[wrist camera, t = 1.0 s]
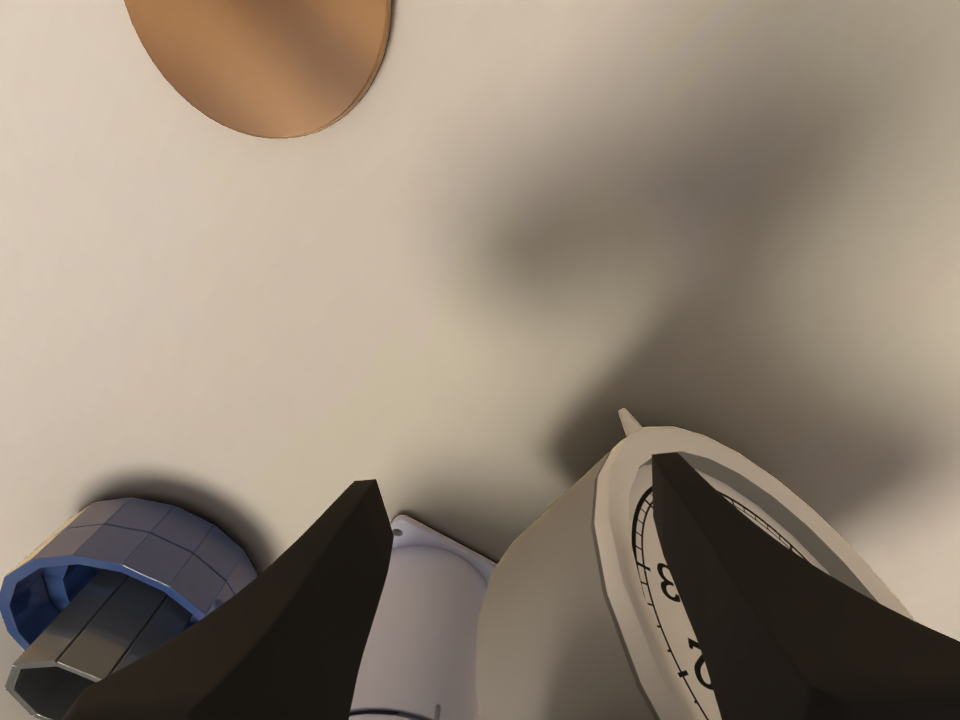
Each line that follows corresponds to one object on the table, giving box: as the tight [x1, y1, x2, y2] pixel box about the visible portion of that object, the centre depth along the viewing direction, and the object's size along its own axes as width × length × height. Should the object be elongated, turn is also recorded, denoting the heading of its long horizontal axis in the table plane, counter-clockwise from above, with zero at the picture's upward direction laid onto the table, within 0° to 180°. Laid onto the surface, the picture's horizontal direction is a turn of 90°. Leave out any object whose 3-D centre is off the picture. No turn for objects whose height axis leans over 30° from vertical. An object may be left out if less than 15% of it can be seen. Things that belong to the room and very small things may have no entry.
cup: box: [5, 569, 194, 720], centre depth 26 cm, size 5×5×7 cm
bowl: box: [0, 497, 258, 650], centre depth 28 cm, size 12×12×4 cm
